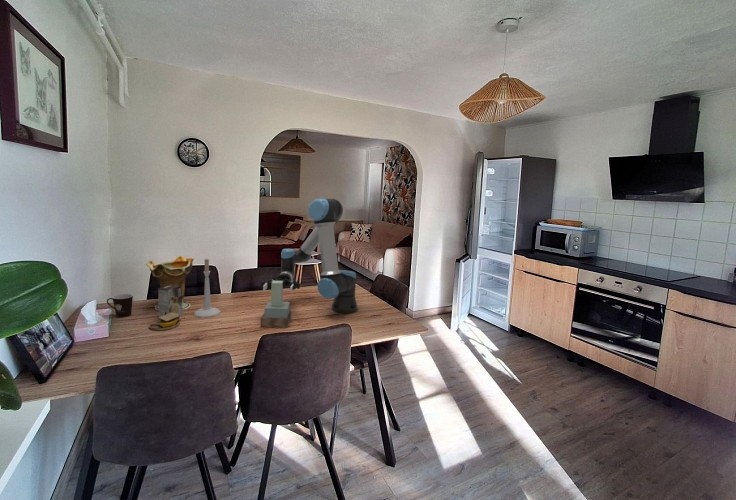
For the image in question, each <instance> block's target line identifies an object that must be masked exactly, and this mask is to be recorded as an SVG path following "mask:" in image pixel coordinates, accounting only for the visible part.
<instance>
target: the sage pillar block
mask: <svg viewBox="0 0 736 500" xmlns="http://www.w3.org/2000/svg"><path fill="white" fill-rule="evenodd" d="M270 288H271V289H270V291H271V292H270V293H271V294H270V296H271V297H270V302H271V306H282V302H284V301H283V300H284V299H283V297H284V296H283V295H284V294H283V293H284V287H283V281H272V283H271V287H270Z"/></svg>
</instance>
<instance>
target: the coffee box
mask: <svg viewBox="0 0 736 500" xmlns="http://www.w3.org/2000/svg"><path fill="white" fill-rule="evenodd" d="M157 294H158V295H157V296H158V305H159V310H158V318H159V317H161V316H164V315H166V314H168V313H177V314H178V315H179V317H181V316H183V314H184V313H183V310H182V302H183V301H182V288H181V286H180V285H168V286H165V287H162V288H161V287H159V288H157Z"/></svg>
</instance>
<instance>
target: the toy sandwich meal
mask: <svg viewBox="0 0 736 500" xmlns="http://www.w3.org/2000/svg"><path fill="white" fill-rule="evenodd" d="M158 319H159V320H156V321H154V322H151V323H150V324H148V327H149V329H151V330H154V331H167V330H171V329H174V328H176V327H177V326H178V325H179V324H180V323H179V322H181V318H180V316H179V315H178V314H177V313H168V314H166V315H164V316H161V317H159V316H158Z"/></svg>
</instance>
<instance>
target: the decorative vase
mask: <svg viewBox="0 0 736 500" xmlns="http://www.w3.org/2000/svg"><path fill="white" fill-rule="evenodd" d="M193 262H194V258H192V257H187V258H185V256H183V255H180V256H177V258H176V259H175V260H172V261H165V262H164V261H163V262H158V263H157V262H156V263H155V261H154V260H149V261H147V263H146V266H147V267H148V268H149V270H150V273H151V275H152V277H154V278H158V280H159V281H158V282H159V284H160V288H162V287H165V286H168V285H180V286H181V288H182V311H183V310H186V309H188V308H190V307H191V303H189V302H187V301H184V299H185V288H186V287H185V285H186V277H187V276H188V275H189V274H190V272H191V271H192V268H193ZM154 309H155V310H156V311H159V304H156V305H154Z"/></svg>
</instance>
